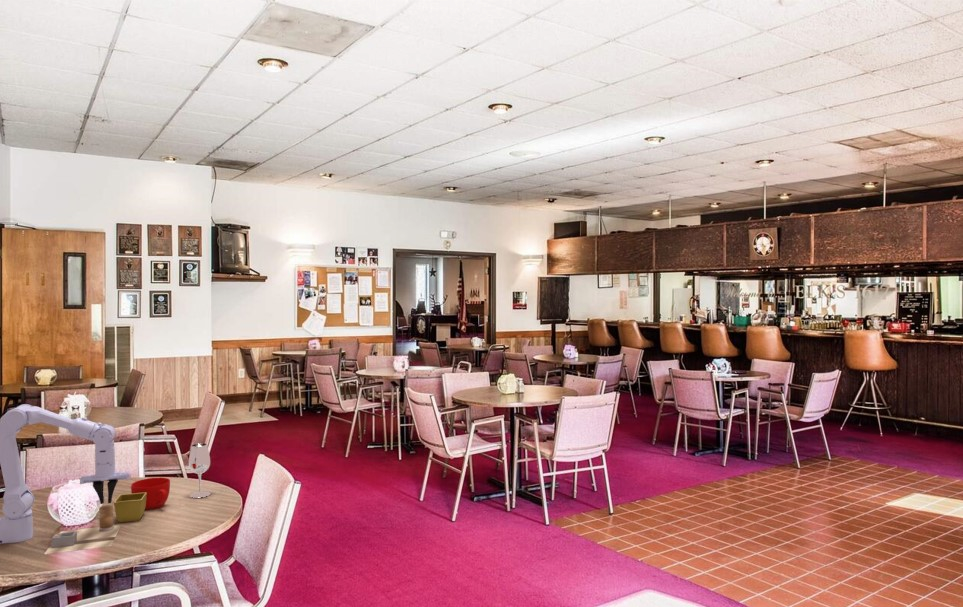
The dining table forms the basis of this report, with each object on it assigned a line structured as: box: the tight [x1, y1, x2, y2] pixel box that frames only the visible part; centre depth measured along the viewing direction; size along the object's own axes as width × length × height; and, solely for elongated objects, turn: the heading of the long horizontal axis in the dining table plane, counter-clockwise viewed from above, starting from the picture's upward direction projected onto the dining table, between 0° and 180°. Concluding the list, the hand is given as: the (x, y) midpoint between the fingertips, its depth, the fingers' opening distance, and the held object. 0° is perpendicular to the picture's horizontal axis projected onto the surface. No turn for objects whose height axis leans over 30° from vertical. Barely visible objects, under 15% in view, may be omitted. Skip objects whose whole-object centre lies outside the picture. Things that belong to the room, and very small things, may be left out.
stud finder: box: [51, 531, 77, 548], centre depth 210 cm, size 6×4×3 cm, turn 110°
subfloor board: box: [43, 524, 122, 555], centre depth 215 cm, size 18×20×2 cm
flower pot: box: [113, 492, 147, 523], centre depth 234 cm, size 9×9×9 cm
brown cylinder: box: [98, 504, 115, 532], centre depth 223 cm, size 4×4×8 cm
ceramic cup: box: [130, 477, 171, 510], centre depth 246 cm, size 13×17×10 cm
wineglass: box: [188, 442, 211, 499], centre depth 263 cm, size 8×8×20 cm
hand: (106, 502), depth 223 cm, fingers closed
